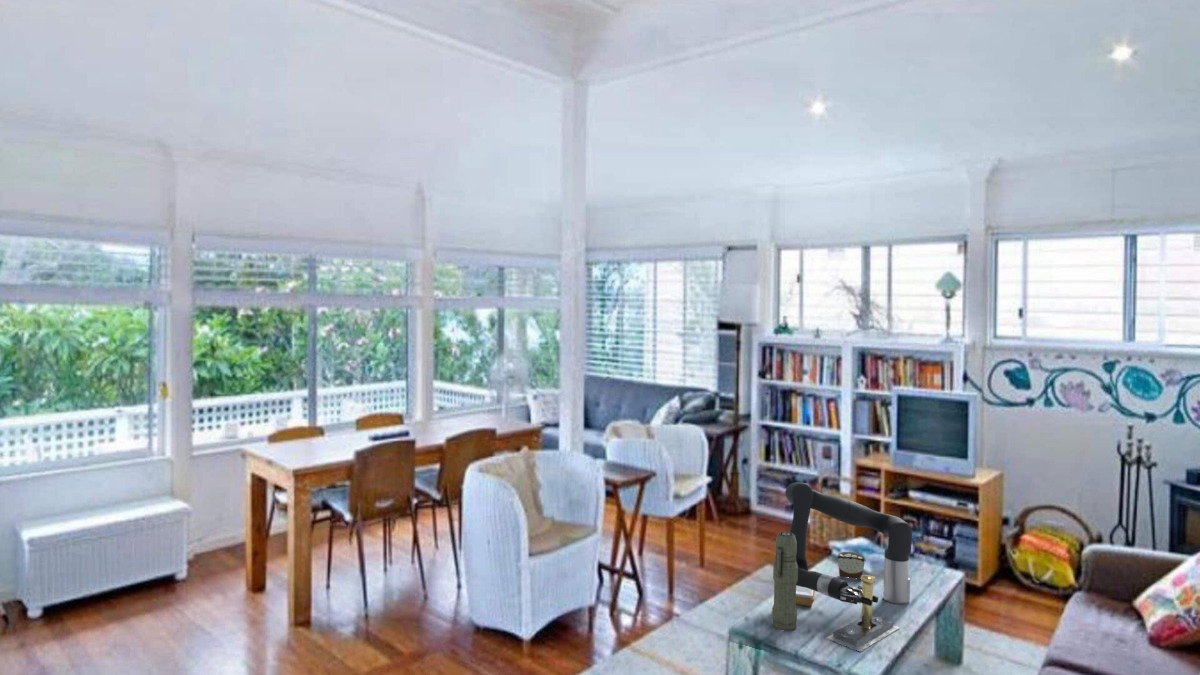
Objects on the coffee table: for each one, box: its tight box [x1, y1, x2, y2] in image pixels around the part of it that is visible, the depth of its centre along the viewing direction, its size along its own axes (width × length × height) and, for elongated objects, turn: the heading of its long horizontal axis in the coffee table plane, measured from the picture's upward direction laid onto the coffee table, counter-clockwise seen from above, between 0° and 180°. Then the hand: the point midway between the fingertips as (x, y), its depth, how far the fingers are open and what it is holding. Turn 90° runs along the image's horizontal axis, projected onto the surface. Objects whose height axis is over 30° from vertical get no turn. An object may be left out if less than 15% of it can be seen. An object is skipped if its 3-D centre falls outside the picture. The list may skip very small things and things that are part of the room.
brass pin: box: [860, 574, 876, 629], centre depth 267 cm, size 5×5×19 cm
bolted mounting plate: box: [826, 615, 900, 653], centre depth 266 cm, size 28×13×4 cm, turn 131°
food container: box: [836, 551, 867, 580], centre depth 322 cm, size 12×6×10 cm, turn 71°
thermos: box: [771, 531, 798, 632], centre depth 271 cm, size 9×12×35 cm
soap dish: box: [796, 586, 816, 607], centre depth 296 cm, size 12×10×5 cm
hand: (874, 601), depth 265 cm, fingers closed on brass pin, 3 cm apart
